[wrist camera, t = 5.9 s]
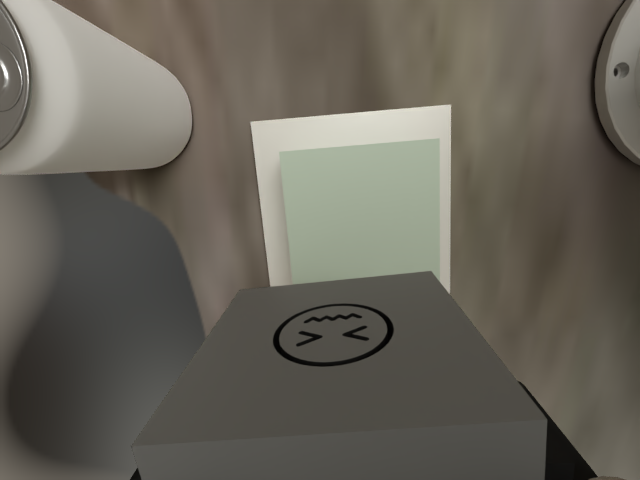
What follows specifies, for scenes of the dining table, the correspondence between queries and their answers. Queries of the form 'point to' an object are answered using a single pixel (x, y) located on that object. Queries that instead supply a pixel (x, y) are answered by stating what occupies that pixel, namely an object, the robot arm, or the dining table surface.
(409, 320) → the dice cube
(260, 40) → the dining table surface
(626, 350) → the dining table surface
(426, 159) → the sage brick
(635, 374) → the dining table surface
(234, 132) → the dining table surface
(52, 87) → the can
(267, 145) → the baseplate
